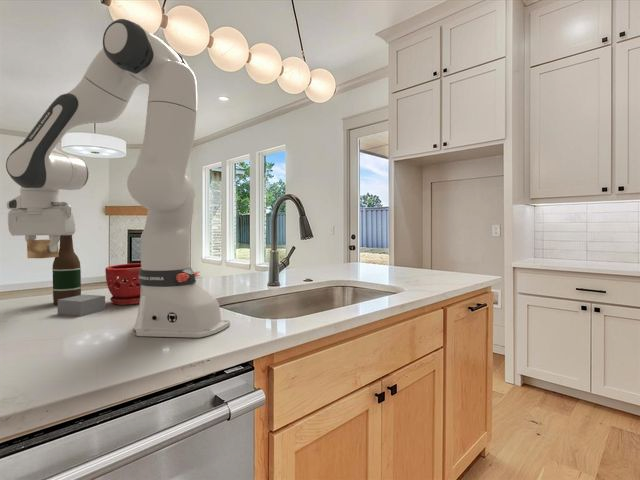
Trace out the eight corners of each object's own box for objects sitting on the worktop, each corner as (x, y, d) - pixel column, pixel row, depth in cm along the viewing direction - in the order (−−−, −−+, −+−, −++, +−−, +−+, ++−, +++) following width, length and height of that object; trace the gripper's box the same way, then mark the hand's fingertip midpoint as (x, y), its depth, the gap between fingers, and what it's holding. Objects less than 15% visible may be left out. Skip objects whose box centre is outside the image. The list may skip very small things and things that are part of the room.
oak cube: (58, 256, 104) (57, 239, 104) (41, 258, 99) (40, 240, 99) (45, 256, 106) (44, 239, 105) (27, 258, 101) (26, 240, 101)
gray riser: (105, 309, 106) (105, 296, 106) (81, 316, 98) (80, 301, 98) (83, 307, 108) (83, 294, 108) (57, 314, 100) (57, 299, 100)
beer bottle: (86, 302, 116) (85, 227, 115) (59, 306, 109) (57, 227, 108) (75, 299, 120) (73, 226, 119) (47, 303, 113) (46, 226, 113)
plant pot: (123, 297, 123) (122, 262, 123) (160, 298, 122) (159, 263, 122) (96, 306, 110) (95, 267, 110) (137, 307, 109) (136, 267, 109)
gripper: (80, 202, 102) (82, 251, 103) (25, 204, 107) (27, 250, 108) (59, 200, 96) (61, 252, 97) (1, 203, 101) (4, 252, 102)
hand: (43, 251), depth 102 cm, fingers closed on oak cube, 5 cm apart
